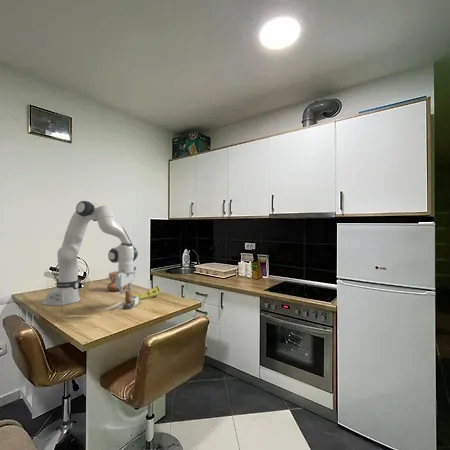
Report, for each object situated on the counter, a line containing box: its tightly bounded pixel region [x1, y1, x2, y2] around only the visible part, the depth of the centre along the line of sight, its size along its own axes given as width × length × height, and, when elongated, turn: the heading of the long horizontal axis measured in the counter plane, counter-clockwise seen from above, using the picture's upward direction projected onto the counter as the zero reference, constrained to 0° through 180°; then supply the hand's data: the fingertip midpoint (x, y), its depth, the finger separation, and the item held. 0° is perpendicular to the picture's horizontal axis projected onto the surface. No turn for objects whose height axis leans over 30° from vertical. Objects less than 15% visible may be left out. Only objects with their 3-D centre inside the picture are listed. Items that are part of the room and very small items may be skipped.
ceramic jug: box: [106, 270, 128, 292], centre depth 200 cm, size 18×14×14 cm
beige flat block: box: [103, 301, 143, 311], centre depth 157 cm, size 18×16×3 cm
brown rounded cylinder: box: [124, 290, 132, 306], centre depth 153 cm, size 3×3×10 cm
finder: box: [130, 296, 140, 305], centre depth 161 cm, size 6×5×4 cm
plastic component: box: [131, 285, 161, 301], centre depth 176 cm, size 20×7×10 cm
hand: (125, 291), depth 153 cm, fingers open, 8 cm apart
